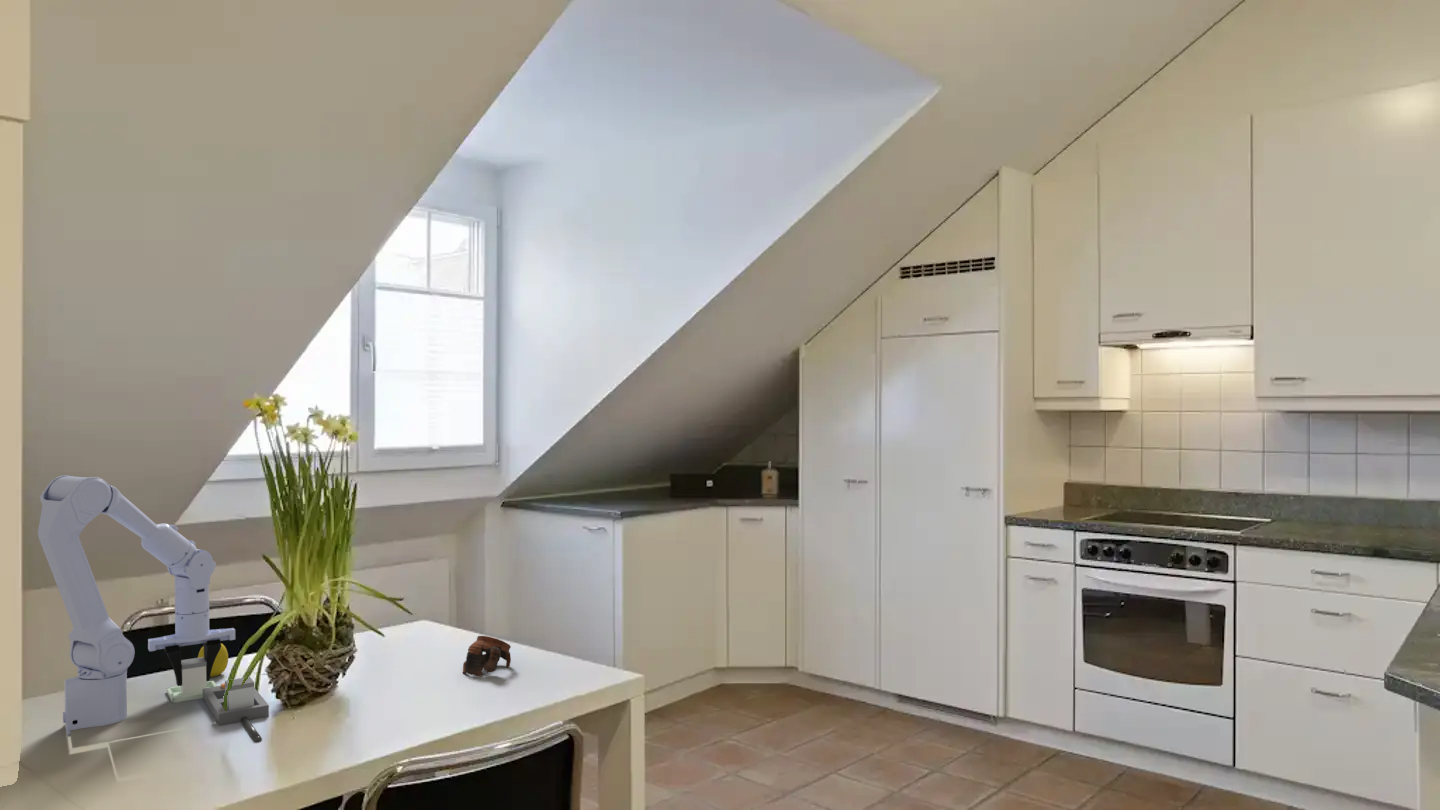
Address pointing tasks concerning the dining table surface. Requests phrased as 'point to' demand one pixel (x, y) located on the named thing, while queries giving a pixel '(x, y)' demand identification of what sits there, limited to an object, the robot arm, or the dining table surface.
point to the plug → (193, 676)
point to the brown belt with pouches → (486, 655)
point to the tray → (177, 697)
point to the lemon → (217, 661)
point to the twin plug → (240, 694)
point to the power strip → (236, 710)
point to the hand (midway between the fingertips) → (193, 682)
